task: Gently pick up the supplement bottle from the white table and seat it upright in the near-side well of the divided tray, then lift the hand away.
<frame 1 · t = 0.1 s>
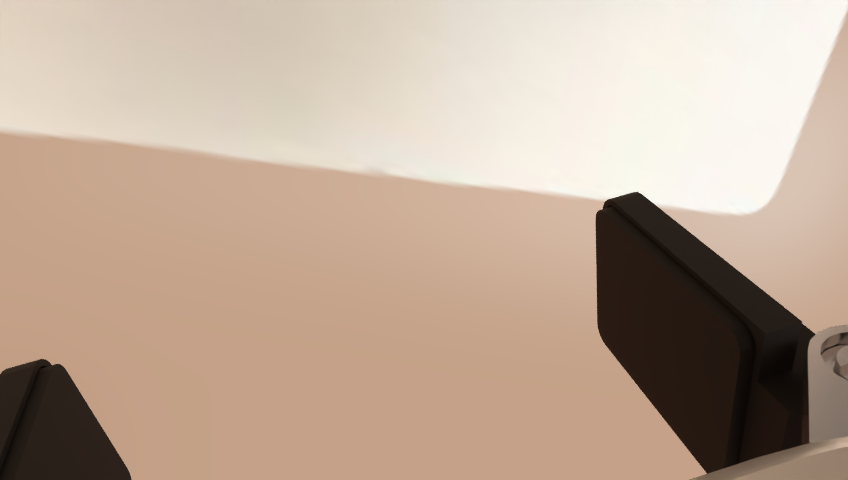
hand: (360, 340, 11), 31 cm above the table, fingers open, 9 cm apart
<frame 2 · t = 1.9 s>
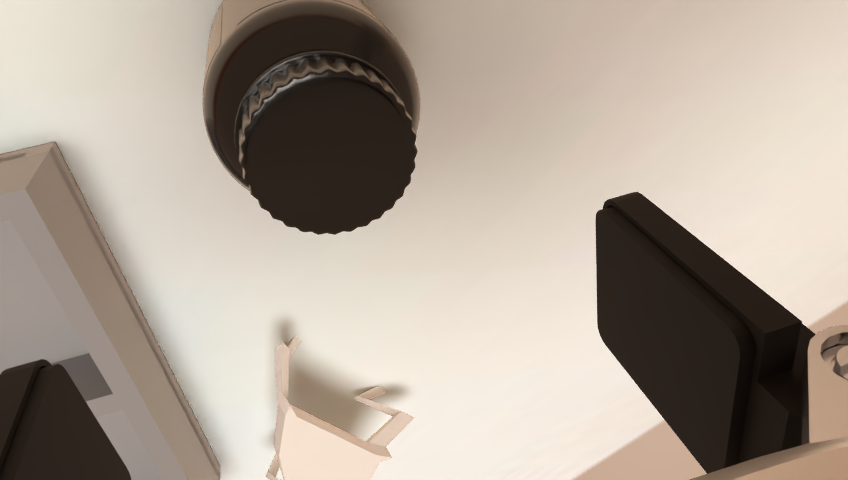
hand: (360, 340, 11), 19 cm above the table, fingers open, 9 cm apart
divided tray: (38, 363, 32), on the table
supplement bottle: (294, 48, 27), on the table
origami figure: (317, 391, 37), on the table
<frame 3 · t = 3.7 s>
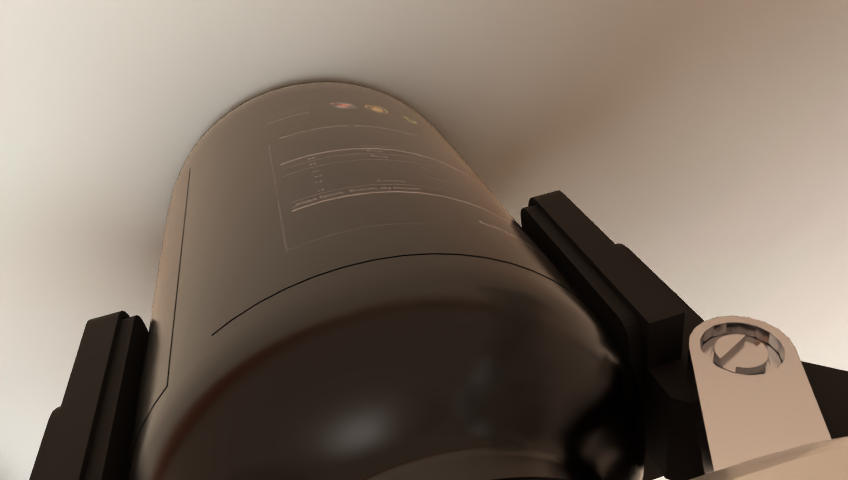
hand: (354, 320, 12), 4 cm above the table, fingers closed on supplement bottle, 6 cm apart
supplement bottle: (323, 209, 15), on the table, touching gripper
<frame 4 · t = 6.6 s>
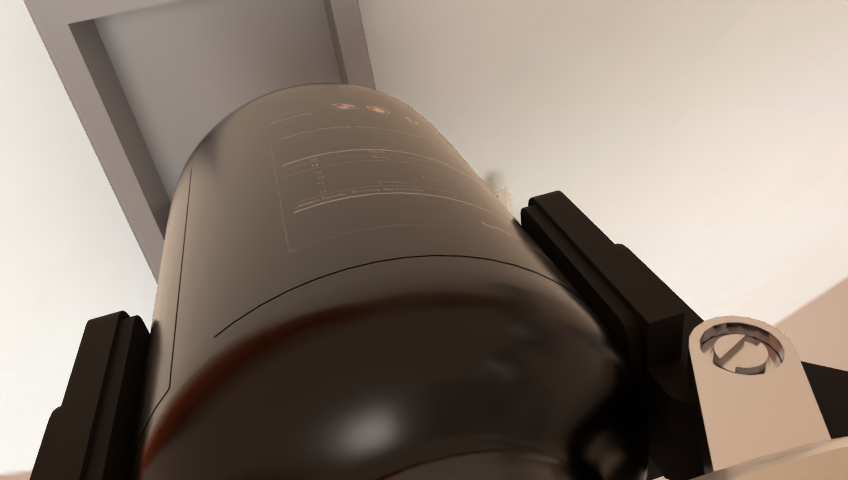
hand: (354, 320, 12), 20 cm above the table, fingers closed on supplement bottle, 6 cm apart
divided tray: (269, 180, 32), on the table
supplement bottle: (324, 210, 15), point 16 cm above the table, touching gripper
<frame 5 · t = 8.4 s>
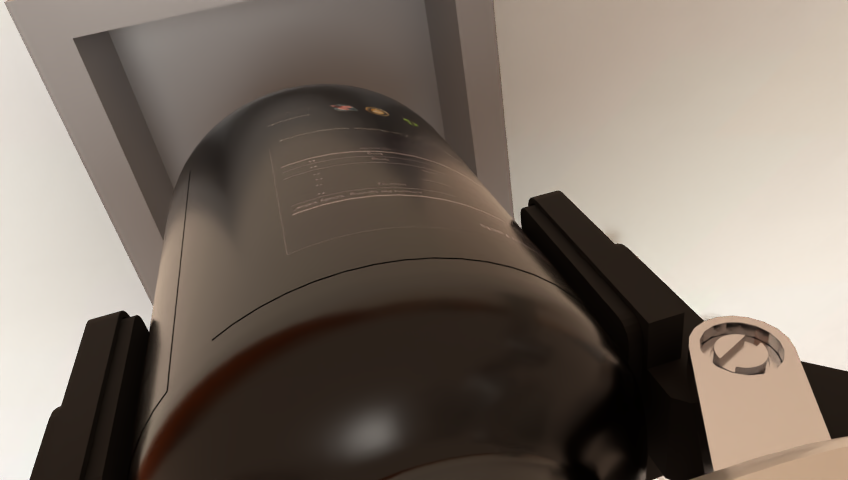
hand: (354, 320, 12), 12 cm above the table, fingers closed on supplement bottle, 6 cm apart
divided tray: (335, 238, 24), on the table
supplement bottle: (323, 211, 15), point 7 cm above the table, touching gripper
when the fingers open (7 cm above the table, at t = 9.9 s): supplement bottle drops 1 cm, resting on divided tray.
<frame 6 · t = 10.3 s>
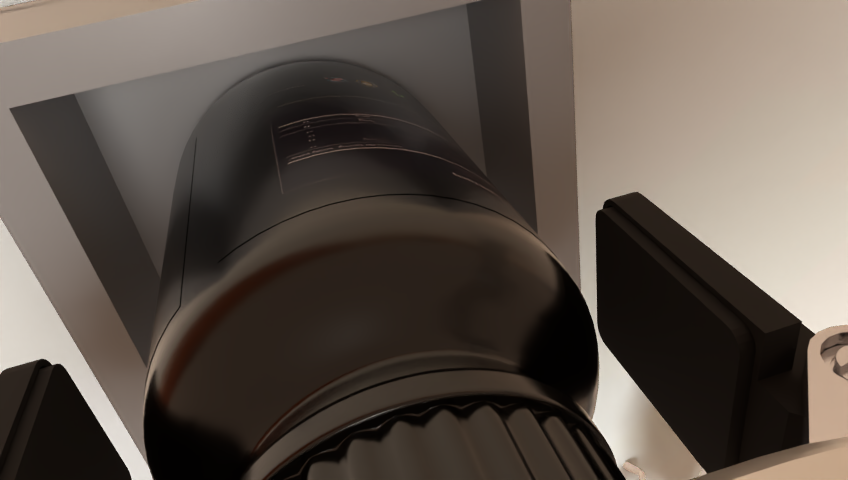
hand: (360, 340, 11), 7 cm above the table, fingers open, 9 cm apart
divided tray: (353, 315, 20), on the table
supplement bottle: (319, 182, 17), point 1 cm above the table, touching divided tray
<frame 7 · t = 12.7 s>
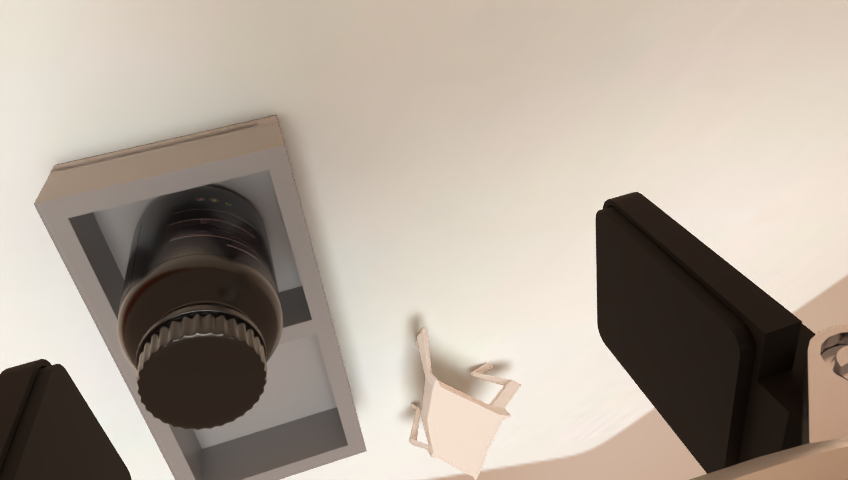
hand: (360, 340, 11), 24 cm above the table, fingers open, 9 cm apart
divided tray: (228, 303, 38), on the table
supplement bottle: (203, 237, 35), point 1 cm above the table, touching divided tray
origami figure: (439, 371, 46), on the table
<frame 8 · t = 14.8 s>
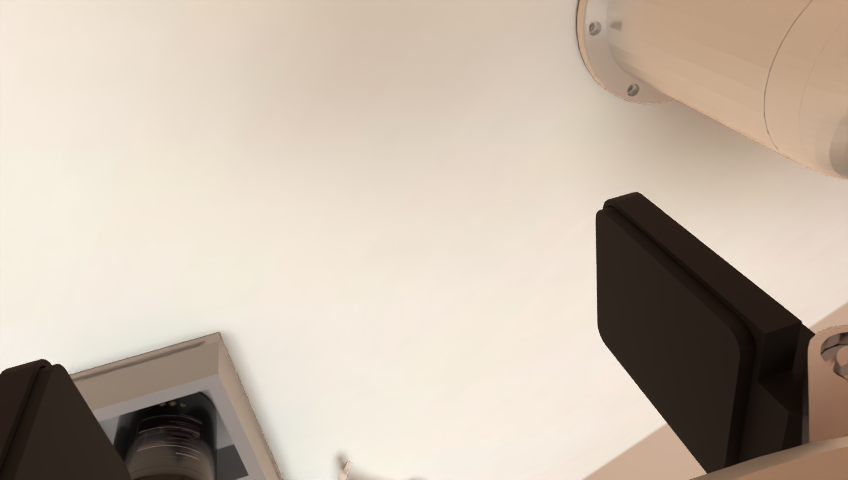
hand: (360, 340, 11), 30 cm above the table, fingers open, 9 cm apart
divided tray: (192, 452, 51), on the table
supplement bottle: (169, 415, 48), point 1 cm above the table, touching divided tray
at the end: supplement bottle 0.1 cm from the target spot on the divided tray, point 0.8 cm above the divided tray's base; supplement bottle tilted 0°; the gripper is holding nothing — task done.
